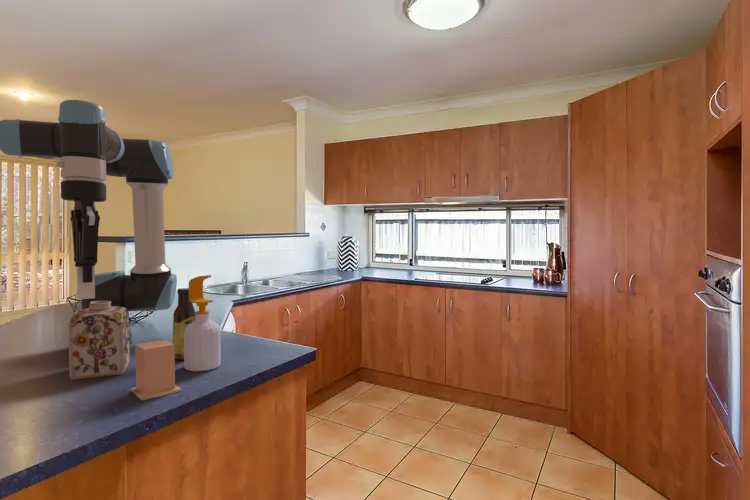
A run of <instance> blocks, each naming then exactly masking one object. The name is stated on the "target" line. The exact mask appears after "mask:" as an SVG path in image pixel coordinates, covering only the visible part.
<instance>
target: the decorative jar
mask: <svg viewBox="0 0 750 500" xmlns="http://www.w3.org/2000/svg"><path fill="white" fill-rule="evenodd" d="M129 315H130V314H129V311H127V309H126V308H125V307H120V306H111V301H93V302H90V305H89V308H85V309H82V310H81V309H78V310H76V311H74V312H73V313H72V316H71V318H70V321H69V324H68V368H69V369H68V370H69V371H68V372H69V373H68V374H69V378H70V380H72V381H75V380H83V379H89V378H90V379H91V378H101V377H102V378H103V377H109V376H118V375H119V376H120V375H124V374H125V372H126V370H127V368H128V366H129V364H130V362H131V359H130V358H131V355H130V353H131V352H130V351H131V350H130V349H131V348H130V346H131V344H130V341H129V330H130V324H129V323H130V321H129V320H130V319H129Z"/></svg>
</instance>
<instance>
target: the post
mask: <svg viewBox="0 0 750 500" xmlns="http://www.w3.org/2000/svg"><path fill="white" fill-rule="evenodd" d="M130 392H131V393H133V394H134V395H135V396H136V397H137V398H139V400H140V401H147V400H151V399H156V398H159V397H163V396H166V395H170V394H175V393H178V392H182V388H181V387H179V386H178V385H177V384H175V389H171V390H167V391H163V392H159V393H154V394H150V395H146V396H145V395H144V394H142V393H141V392H140V391H139V390H137V389H136V386H134V387H130Z"/></svg>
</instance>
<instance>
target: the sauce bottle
mask: <svg viewBox="0 0 750 500" xmlns="http://www.w3.org/2000/svg"><path fill="white" fill-rule="evenodd" d="M193 304H194V303H191V302H190V301H189V287H183V288H182V287H180V288H177V306H176V308H175V309H174V310H173V311H174V312H173V321H172V344H174V347H175V360H179V361H180V360H183V361H184V331H185V329H186V327H187V326H188V325H189V324H191V323H193V322H194V321H195V320H196V310H195V307H194V305H193Z"/></svg>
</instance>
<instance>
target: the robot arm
mask: <svg viewBox="0 0 750 500" xmlns="http://www.w3.org/2000/svg"><path fill="white" fill-rule="evenodd" d="M58 112H59V113H58V118H57V120H58V122H51V121H40V120H25V119H24V120H23V119H19V118H17V119H1V120H0V151H1V152H2V153H3V154H4V155H7V156H13V157H14V156H15V157H19V158H20V157H21V158H22V157H27V158H28V157H30V158H38V159H44V160H50V161H55V162H56V167H59V168H61V169H60V177H61V179H64V180H62V181H61V182H60V198H61V199H62V200H64V201H69V202H74V204H73V209H72V210H71V211H70V224H71V229H72V230H71V233H72V244H73V245H72V247H73V248H72V249H73V261H74V267H76V298H77V300H80V301H81V302H80V305H81V309H80V310H82V309H85V308H89V305H90V302H93V301H111V306H120V307H125V308H126V309H127V311H128V312H146V311H147V312H148V311H151V312H152V311H153V312H157V311H167V310H169V309H171V307H172V306H173V304H174V300H175V298H176V291H177V287H178V285H177V284H178V282H177V281H178V279H177V278H178V276H177V274H175V273H172V269H171V267H170V266H169V265H167V263H166V241H165V240H166V239H165V215H164V214H165V212H164V211H165V210H164V208H165V207H164V189H165V188H167V187H168V186H169V180H172V179H173V178H174V164H173V158H172V155H171V151H170V148H169V147H168V145H167V144H166V142H164V141H161V140H153V139H137V138H136V139H135V138H122V137H121V135H119V134H118V132H117V131H115V130H113V129H111V128H110V127H109V126H107V125H106V122H107V119H106V115H105V113H106V112H105V109H104V108H103V107H102V106H101V105H100V104H98V103H95V102H92V101H87V100H83V99H66V100H63V101H62V102H60V104H59V111H58ZM107 176H110V177H115V178H125V184H126V185H128V186H129V187H130V188H131V191H132V192H131V193H132V195H131V196H132V198H131V199H132V214H133V215H132V217H133V240H134V241H133V242H134V244H133V245H134V259H135V260H134V261H135V263H134V264H135V265H134V266H132V268H131V269H130V270H129V273H130V274H126V272H125V271H124V270H114V271H107V272H106V271H105V272H100V273H95V266H96V265H97V263H98V247H99V225H100V220H101V217H100V215H99V211H98V210H97V209H96V205H95V204H96V203H102V202H106V200H107V184H106V183H105V181H107ZM129 341H130V345H131V344H132V343H133V337H132V333H131V329H129Z"/></svg>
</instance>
